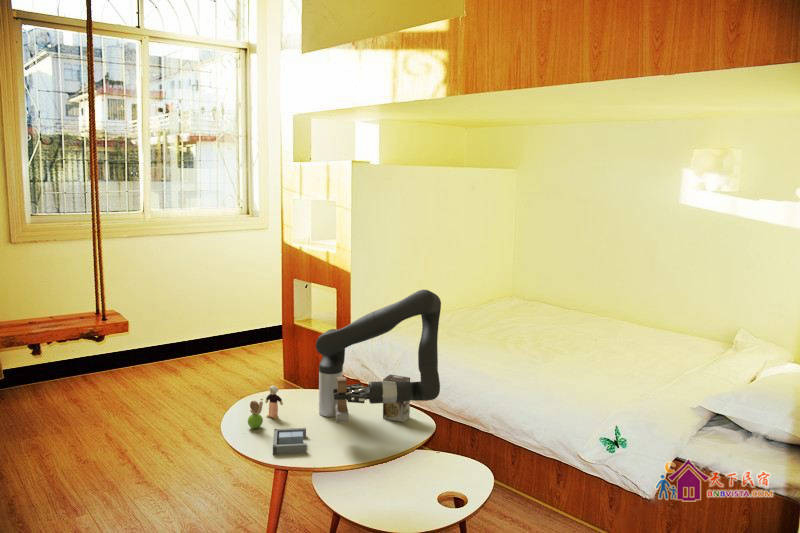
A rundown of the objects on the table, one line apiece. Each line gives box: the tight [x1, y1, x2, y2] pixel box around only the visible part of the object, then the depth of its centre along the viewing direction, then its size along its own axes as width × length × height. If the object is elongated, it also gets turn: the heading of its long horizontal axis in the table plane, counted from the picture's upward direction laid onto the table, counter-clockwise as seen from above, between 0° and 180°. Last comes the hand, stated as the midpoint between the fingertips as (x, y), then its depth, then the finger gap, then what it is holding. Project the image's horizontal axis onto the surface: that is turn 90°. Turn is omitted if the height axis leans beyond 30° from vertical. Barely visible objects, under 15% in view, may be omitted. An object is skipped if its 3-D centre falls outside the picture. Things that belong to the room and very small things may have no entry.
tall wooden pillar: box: [335, 376, 350, 424], centre depth 214 cm, size 9×4×14 cm, turn 9°
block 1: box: [278, 432, 291, 445], centre depth 213 cm, size 4×4×4 cm
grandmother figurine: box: [264, 385, 284, 420], centre depth 237 cm, size 8×4×13 cm, turn 81°
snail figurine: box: [247, 398, 264, 429], centre depth 226 cm, size 5×6×12 cm
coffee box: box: [382, 374, 411, 423], centre depth 239 cm, size 9×6×16 cm
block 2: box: [291, 432, 304, 444], centre depth 214 cm, size 4×4×4 cm
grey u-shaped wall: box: [272, 427, 308, 456], centre depth 214 cm, size 14×11×3 cm
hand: (334, 394), depth 214 cm, fingers closed on tall wooden pillar, 4 cm apart
